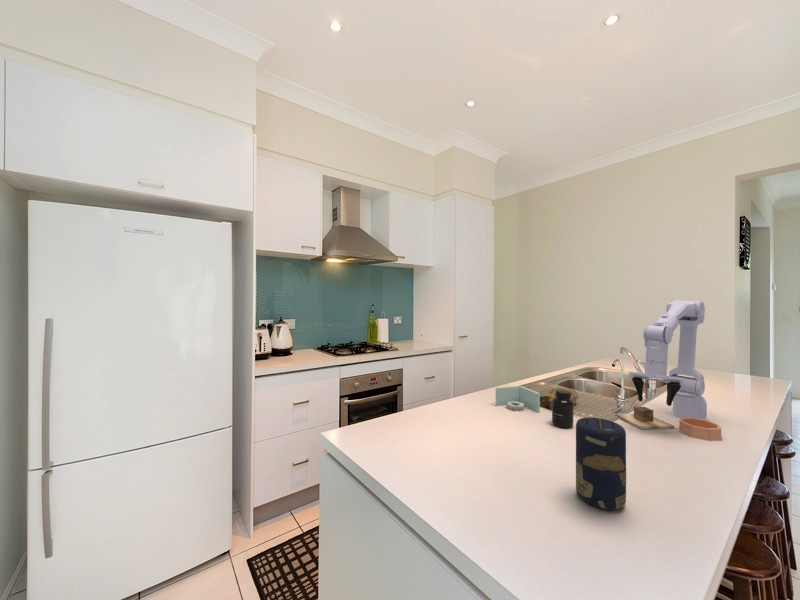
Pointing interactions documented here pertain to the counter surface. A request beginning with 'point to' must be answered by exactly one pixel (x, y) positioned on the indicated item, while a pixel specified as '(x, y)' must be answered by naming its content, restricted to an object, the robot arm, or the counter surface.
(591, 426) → the canister
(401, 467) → the counter surface
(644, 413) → the lid
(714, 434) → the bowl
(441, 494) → the counter surface
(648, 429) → the mat
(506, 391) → the teal corner wall
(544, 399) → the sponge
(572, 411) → the supplement bottle
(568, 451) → the counter surface
